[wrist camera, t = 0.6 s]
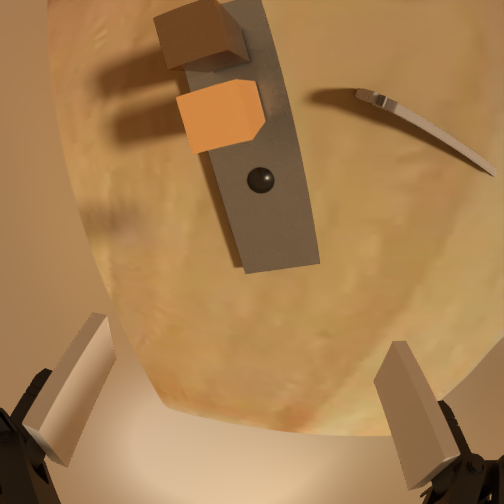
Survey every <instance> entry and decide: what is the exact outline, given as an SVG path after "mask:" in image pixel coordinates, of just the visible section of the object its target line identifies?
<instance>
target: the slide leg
mask: <svg viewBox="0 0 504 504" xmlns="http://www.w3.org/2000/svg"><path fill="white" fill-rule="evenodd" d="M176 100H177V104H178V107H179V110H180V114H181V117H182V120H183V124H184V127H185V130H186V134H187V137H188V140H189V143H190V147H191V150H192V153H193V154H196V153H200V152H204V151H208V150H212V149H216V148H220V147H224V146H228V145H232V144H236V143H241V142H245V141H250V140H253V139H254V137H255V136H256V134H257V133H258V131H259V130H260V128H261V127H262V126H263V124H264V123H265V117H264V113H263V109H262V105H261V101H260V98H259V94H258V90H257V86H256V82H255V81H249V80H240V79H235V80H231V81H228V82H224V83H220V84H217V85H213V86H210V87H207V88H203V89H200V90H197V91H194V92H190V93H187V94H184V95H181V96H178V97H176Z"/></svg>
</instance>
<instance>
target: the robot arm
mask: <svg viewBox="0 0 504 504" xmlns="http://www.w3.org/2000/svg"><path fill="white" fill-rule="evenodd" d="M115 360H116V356H115V351H114V347H113V342H112V338H111V333H110V328H109V323H108V318H107V315H103V314H98V313H92V314H91V315H90V317H89V318H88V320H87V321H86V322H85V324H84V325H83V327H82V328H81V330H80V331H79V332H78V334H77V335H76V337H75V338H74V340H73V341H72V343H71V344H70V346H69V347H68V349H67V350H66V352H65V353H64V355H63V356H62V358H61V359H60V361H59V362H58V364H57V365H56V367H55V368H54V370H53V371H52V370H49V369H46V368H45V369H44V370H42V371H41V372H39V373H38V374H37V375H36V376H35V377H34V379H33V380H32V382H31V384H30V386H29V387H28V388H27V390H26V393H24V394H23V396H22V398H21V399H20V401H19V403H18V405H17V406H16V407H15V409H14V411H13V412H12V414H11V416H10V417H9V415H8V414H7V413H6V412H5V410H4V409H3V408H0V504H61V503H60V500H59V498H58V495H57V493H56V490H55V488H54V485H53V483H52V480H51V477H50V474H49V472H48V469H47V466H46V463H45V461H44V458H45V455H47V456H48V457H49V458H50V459H51V460H52V461H54V462H56V463H58V464H61V465H63V466H65V467H68V465H69V462H70V460H71V457H72V455H73V452H74V450H75V448H76V445H77V442H78V441H79V438H80V436H81V434H82V431H83V429H84V427H85V424H86V422H87V420H88V417H89V415H90V413H91V411H92V409H93V406H94V404H95V402H96V400H97V398H98V396H99V393H100V391H101V389H102V387H103V385H104V383H105V381H106V379H107V377H108V375H109V372H110V370H111V368H112V366H113V364H114V362H115ZM374 384H375V386H376V389H377V392H378V395H379V398H380V401H381V403H382V406H383V409H384V412H385V415H386V418H387V421H388V424H389V427H390V431H391V434H392V437H393V440H394V443H395V446H396V450H397V452H398V456H399V460H400V463H401V466H402V470H403V473H404V476H405V480H406V484H407V488H408V490H412V489H416V488H420V487H423V486H425V485H426V484H427V483H428V482H430V481H431V482H432V486H431V487H429V488H428V489H427V490H426V491H424V492H423V493H422V494H421V495H420V497H423V496H424V495H426V494H427V495H426V497H425V499H424V501H423V503H422V504H504V455H503V456H502V457H500V458H499V459H498V460H484V459H483V458H482V457H481V456H479V455H478V454H474V453H473V454H472V453H471V451H470V449H469V447H468V444H467V443H466V440H465V438H464V435H463V433H462V431H461V429H460V427H459V426H458V423H457V420H456V419H455V416H454V414H453V412H452V410H451V408H450V407H449V406H448V405H447V404H446V403H445V402H444V401H443V400H442V401H437V400H436V398H435V396H434V394H433V392H432V390H431V388H430V386H429V384H428V382H427V380H426V378H425V376H424V374H423V372H422V370H421V368H420V366H419V364H418V362H417V361H416V359H415V357H414V355H413V353H412V351H411V349H410V347H409V346H408V344H407V342H406V341H393V342H392V344H391V346H390V348H389V350H388V353H387V355H386V357H385V359H384V361H383V363H382V365H381V367H380V369H379V371H378V373H377V375H376V377H375V379H374ZM491 494H492V496H491V500H490V497H489V496H490V495H491Z"/></svg>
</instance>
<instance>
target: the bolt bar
mask: <svg viewBox="0 0 504 504" xmlns="http://www.w3.org/2000/svg"><path fill="white" fill-rule="evenodd" d="M153 19H154V23H155V27H156V30H157V34H158V38H159V41H160V45H161V48H162V52H163V55H164V59H165V62H166V66H167V69H168V70H182V71H185V74H186V78H187V81H188V85H189V88H190V92H194V91H197V90H200V89H203V88H207V87H210V86H213V85H217V84H220V83H224V82H228V81H231V80H235V79H240V80H249V81H255V82H256V86H257V90H258V94H259V98H260V101H261V105H262V109H263V113H264V117H265V123H264V124H263V126H262V127H261V128H260V130H259V131H258V133H257V134H256V136H255V137H254V139H253V140H250V141H245V142H241V143H236V144H232V145H228V146H224V147H220V148H216V149H212V150H208V153H209V156H210V159H211V163H212V166H213V170H214V173H215V176H216V179H217V183H218V186H219V189H220V193H221V196H222V199H223V203H224V206H225V209H226V212H227V216H228V219H229V222H230V226H231V229H232V232H233V235H234V239H235V242H236V245H237V248H238V251H239V255H240V258H241V261H242V264H243V268H244V271H245V274H249V273H256V272H263V271H271V270H278V269H285V268H292V267H299V266H306V265H313V264H320V258H319V252H318V245H317V239H316V233H315V227H314V221H313V215H312V209H311V204H310V198H309V193H308V188H307V182H306V177H305V172H304V167H303V162H302V157H301V152H300V148H299V143H298V138H297V134H296V129H295V125H294V120H293V116H292V112H291V107H290V103H289V99H288V95H287V91H286V87H285V83H284V79H283V75H282V71H281V67H280V64H279V60H278V56H277V52H276V49H275V45H274V42H273V38H272V35H271V31H270V28H269V24H268V21H267V18H266V14H265V11H264V8H263V5H262V1H261V0H235V1H231V2H228V3H224V4H220V3H219V2H218V1H217V0H199V1H196V2H193V3H190V4H187V5H185V6H182V7H179V8H177V9H174V10H172V11H169V12H166V13H164V14H162V15H159V16H157V17H155V18H153Z"/></svg>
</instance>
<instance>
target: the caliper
mask: <svg viewBox="0 0 504 504" xmlns="http://www.w3.org/2000/svg"><path fill="white" fill-rule="evenodd" d="M354 97H356V98H358V99H361V100H364V101H367V102H370V103H369V104H371V105H374V106H376V107H378V108H381V109H383V110H386V111H388V112H390V113H392V114H394V115H396V116H398V117H400V118H402V119H403V120H405V121H407V122H409V123H411V124H413V125H415V126H417V127H419V128H421V129H422V130H424V131H426V132H427V133H429V134H431V135H433V136H434V137H436V138H438V139H439V140H441V141H442V142H444V143H446V144H447V145H449V146H450V147H452V148H453V149H455V150H457V151H458V152H460V153H461V154H463V155H464V156H466V157H467V158H468V159H470V160H471V161H473V162H474V163H476V164H477V165H478V166H480V167H481V168H483V169H484V170H485V171H487V172H488V173H490V174H491V175H492V176H494V177H495V174H496V172H497V169H495V167H493V166H492V165H491V164H490V163H488V162H487V161H486V160H484V159H483V158H482V157H480V156H479V155H478V154H476V153H475V152H474V151H472V150H471V149H469V148H468V147H467V146H465V145H464V144H462V143H461V142H459V141H458V140H457V139H455V138H454V137H452V136H451V135H449V134H447V133H446V132H444V131H443V130H441V129H440V128H438V127H437V126H435V125H433V124H432V123H431V122H429V121H427V120H426V119H424V118H422V117H421V116H419V115H417V114H416V113H414V112H412V111H410V110H409V109H407V108H405V107H403V106H401V105H400V104H398V102H396V101H393V100H391V99H388V97H387V96H383V95H380V94H378V93H376V92H373V91H370V90H366V89H361V88H357V91H356V94H355V96H354Z"/></svg>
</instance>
